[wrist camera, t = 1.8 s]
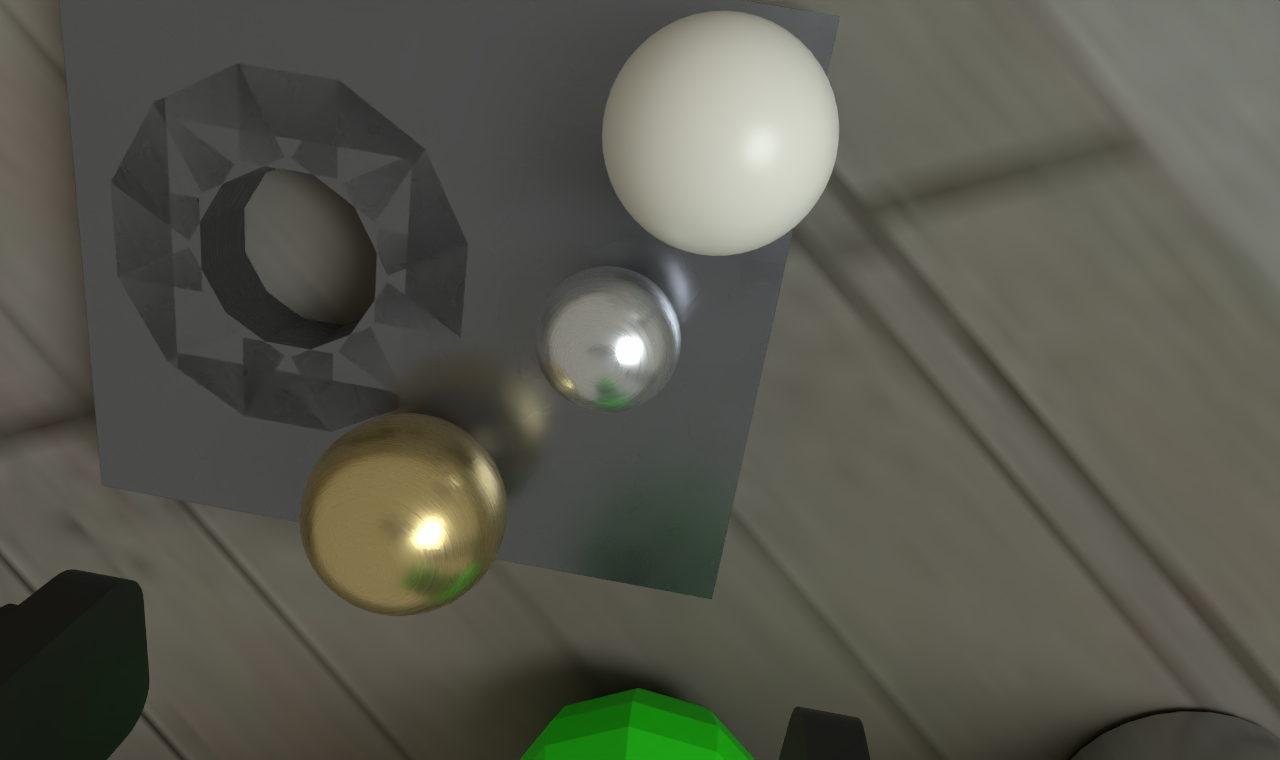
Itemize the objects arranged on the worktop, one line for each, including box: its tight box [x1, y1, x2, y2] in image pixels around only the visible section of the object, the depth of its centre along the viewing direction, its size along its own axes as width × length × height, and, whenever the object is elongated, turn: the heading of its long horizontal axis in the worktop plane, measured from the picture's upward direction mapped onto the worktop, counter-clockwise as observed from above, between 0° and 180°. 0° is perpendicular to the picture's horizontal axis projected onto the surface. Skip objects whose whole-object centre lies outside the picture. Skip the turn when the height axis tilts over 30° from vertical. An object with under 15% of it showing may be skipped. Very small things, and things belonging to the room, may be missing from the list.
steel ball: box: [534, 266, 681, 413], centre depth 23 cm, size 4×4×4 cm
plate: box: [59, 0, 840, 599], centre depth 27 cm, size 21×18×2 cm
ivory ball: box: [602, 11, 839, 256], centre depth 21 cm, size 6×6×6 cm
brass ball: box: [300, 413, 507, 616], centre depth 25 cm, size 6×6×6 cm
